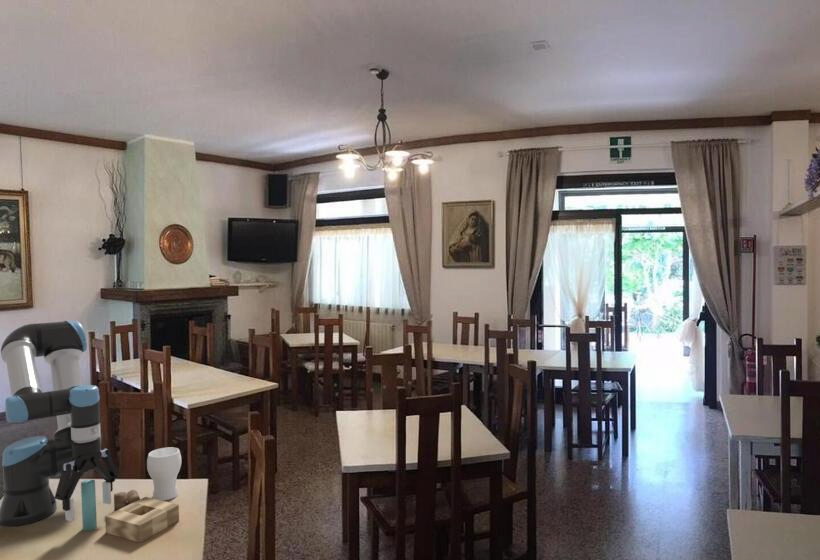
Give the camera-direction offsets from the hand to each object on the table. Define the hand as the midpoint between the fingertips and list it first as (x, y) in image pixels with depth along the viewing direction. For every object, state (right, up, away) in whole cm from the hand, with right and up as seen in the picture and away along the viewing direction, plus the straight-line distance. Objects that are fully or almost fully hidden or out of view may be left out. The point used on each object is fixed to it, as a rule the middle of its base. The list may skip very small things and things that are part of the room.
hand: (89, 511), depth 166 cm
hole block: (+16, -5, +1) cm, 16 cm away
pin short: (+3, -4, +12) cm, 13 cm away
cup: (+13, -4, +22) cm, 26 cm away
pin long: (0, -5, 0) cm, 5 cm away
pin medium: (+8, -3, +12) cm, 15 cm away
